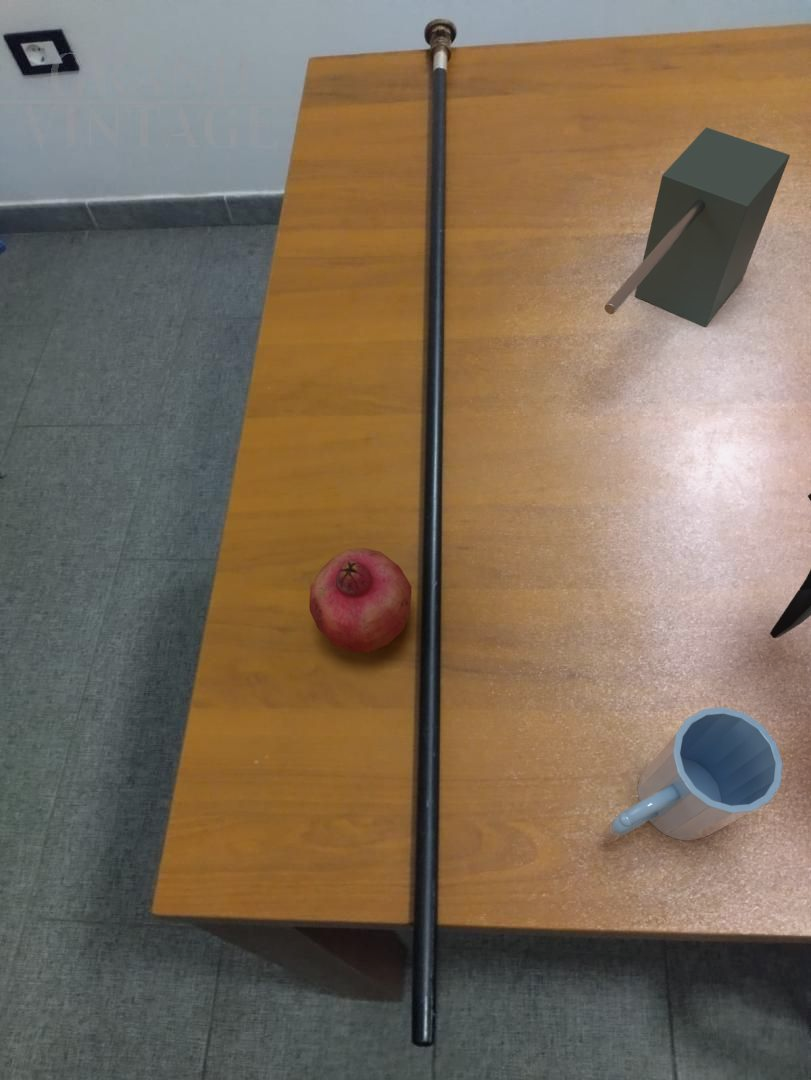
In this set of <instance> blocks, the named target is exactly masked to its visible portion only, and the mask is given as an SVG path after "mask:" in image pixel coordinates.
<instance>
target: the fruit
mask: <svg viewBox="0 0 811 1080" xmlns="http://www.w3.org/2000/svg"><path fill="white" fill-rule="evenodd" d="M412 589H413V588H412V585H411V582H410V581H409V579H408V577H407V576H406V575H405V573H404V571H403V569H402V568H401V566H399V564H397V563H396V562H395V561H394V560H392V559H390V558H389V557H388V556H387V555H386V554H384V553H383V552H382V551H379V550H375V549H371V548H366V547H364V548H363V547H362V548H349V549H347V548H346V549H345V550H343V551H342V552H340V553H339V554H337V555H335V556H333V557H332V558H330V560H328V562H327V563H326V564H325V565H324V566H323V567H322V568H321V569H320V571H319V572H318V574H317V575H316V576H315V578H314V580H313V581H312V582H311V584H310V586H309V603H308V606H309V613H310V615H311V617H312V620H313V621H314V623H315V625H316V627H317V628H318V629H319V631H320V632H321V633H322V634H323V635H324V636H325V638H326V639H327V640H328V641H329V642H330V643H331V644H332V645H333V646H335V647H337V648H340V649H343V650H346V651H349V652H352V653H372V652H374V651H377V650H378V649H381V648H383V647H385V646H387V645H389V644H391V643H392V642H393V640H394V639H396V638H397V637H398V635H400V634H401V633H402V632H403V630H404V628H405V626H406V623H407V620H408V618H409V617H410V613H411V603H412Z"/></svg>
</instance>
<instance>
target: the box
mask: <svg viewBox="0 0 811 1080" xmlns="http://www.w3.org/2000/svg"><path fill="white" fill-rule="evenodd" d="M790 156H791V155H790V154H788V153H785V152H783V151H780V150H776V149H773V148H770V147H767V146H764V145H762V144H758V143H755V142H753V141H749V140H747V139H743V138H740V137H737V136H734V135H731V134H728V133H725V132H721V131H719V130H717V129H716V130H715V129H712V128H710V127H705V128H704V129H703V130H702V131H701V132H700V134H699V135H697V137H696V138H695V139H694V140H693V141H692V142H691V143H690V144H689V145H688V146H687V148H686V149H685V150H684V151H683V152H682V153H681V154H680V155H679V156H678V157H677V159H675V160H674V162H673V163H672V164H671V165H670V166H669V167H668V168H667V169H666V170H665V172H664V173H663V174H662V175H661V181H660V184H659V188H658V193H657V197H656V200H655V205H654V210H653V214H652V218H651V223H650V228H649V232H648V237H647V241H646V246H645V248H644V249H645V250H644V254H643V258H642V262H641V263H640V264H639V265H638V266H637V268H636V269H635V270H634V271H633V273H632V274H631V275H629V277H628V278H627V279H626V281H624V283H622V285H621V286H620V287H619V289H618V290H617V291H615V292H614V294H613V296H611V298H610V299H609V300H608V301H607V302H606V304H604V311H605V312H606V313H607V314H609V315H614V314H615V313H616V312H617V311H618V310H619V309H620V308H621V306H622V305H623V304H624V303H625V302H626V300H627V299H628V298H629V297H630V296H631V295H632V294H633V292H634V291H635V294H634V297H635V298H638V299H640V300H642V301H644V302H646V303H649V304H651V305H653V306H656V307H658V308H660V309H663V310H665V311H667V312H670V313H672V314H674V315H676V316H678V317H681V318H683V319H685V320H688V321H690V322H693V323H695V324H696V325H699V326H702V327H703V328H706V327H707V326H708V324H709V323H710V322H711V321H712V319H713V318H714V317H715V316H716V314H717V313H718V312H719V311H720V309H721V308H723V305H724V304H725V303H726V302H727V301H728V299H729V298H730V297H731V295H732V294H733V293H734V291H736V289H737V287H739V285H740V284H741V283H742V282H743V280H744V277H745V275H746V272H747V270H748V268H749V267H748V266H749V264H750V261H751V259H752V256H753V253H754V251H755V248H756V246H757V243H758V240H759V238H760V235H761V232H762V230H763V227H764V225H765V222H766V220H767V217H768V214H769V212H770V209H771V207H772V204H773V201H774V199H775V196H776V194H777V191H778V188H779V185H780V183H781V180H782V178H783V175H784V173H785V170H786V167H787V164H788V162H789V160H790Z"/></svg>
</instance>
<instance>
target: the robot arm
mask: <svg viewBox="0 0 811 1080" xmlns="http://www.w3.org/2000/svg"><path fill="white" fill-rule="evenodd" d="M807 498H808V499H809V502H811V493H809V494H807ZM809 617H811V569H809V572H808V574H807V576H806V578H805V579H804V581H803V582H802V584H801V586H800V587H799V589H798V590H797V592H796V593H795V594H794V596H793V598H791V600H790V602H789V604H788V605H787V607H786V608H784V611H783V612H782V614H781V615H780V617H779V619H777V621H776V623H775V625H774V626H773V627H772V629H771V630H770V632H769V635H770V636H771V638H772V639H779V638H780V637H782V636H784V635H785V634H787V633H789V632H790V631H793V630H794V629H795V628H797V627H798V626H800V625H801V624H802V623H804V622H805V621H806V620H807V619H808V618H809Z"/></svg>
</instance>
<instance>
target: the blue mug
mask: <svg viewBox="0 0 811 1080" xmlns="http://www.w3.org/2000/svg"><path fill="white" fill-rule="evenodd" d="M783 767H784V764H783V760H782V756H781V754H780V750H779V748H778V744H777V742H776V740H775V739H774V738H773V737H772V735H771V733H769V731H768V730H767V729H766V727H765V726H764V725H763V724H762V723H760V722H759V721H757V720H756V719H755V718H753V717H751V716H750V715H748V714H746V713H744V712H742V711H740V710H739V711H738V710H736V709H732V708H728V707H723V706H721V707H712V708H711V707H710V708H702V709H701V710H698V711H697V712H695V713H694V714H691V715H690V716H688V717H687V718H685V720H683V722H682V724H680V726H679V727H678V728H677V729H676V730H675V732H674V733H673V734H671V736H670V737H669V738H668V739H667V741H665V743H664V744H663V746H661V748H660V749H659V750H658V751H657V752H656V754H655V755H654V756H653V757H652V758H651V760H650V761H649V762H648V764H647V765H646V766H645V768H644V769H643V771H642V772H641V775H640V777H639V780H638V785H637V795H638V802H637V803H635V804H633V805H632V806H630V807H628V808H626V809H624V810H623V811H621V812H620V813H619V814H618V815H617V816H616V817H615V818H614V819H613V820H612V821H611V823H610V824H609V825H608V826H607V827H605V828H604V830H603V837H604V840H606V841H608V842H610V843H611V842H615V841H616V840H618V839H620V838H621V837H624V836H625V835H627V834H629V833H630V832H632V831H633V830H635V829H637V828H639V827H640V826H642V825H644V824H646V823H647V822H649V823H650V824H651V825H652V826H653V827H654V828H655V829H657V830H658V831H659V832H661V833H662V834H664V835H665V836H668V837H670V838H673V839H676V840H680V841H696V840H699V839H700V840H701V839H704V838H706V837H708V836H709V835H711V834H714V833H715V832H717V831H720V830H721V829H723V828H724V827H726V826H728V825H730V824H732V823H734V822H736V821H737V820H739V819H741V818H743V817H745V816H747V815H749V814H751V813H752V812H754V811H756V810H758V809H760V808H761V807H763V806H765V805H766V804H768V803H770V802H771V801H772V799H773V798H774V796H775V795H776V793H777V792H778V790H779V789H780V787H781V784H782V779H783V778H782V777H783Z"/></svg>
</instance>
